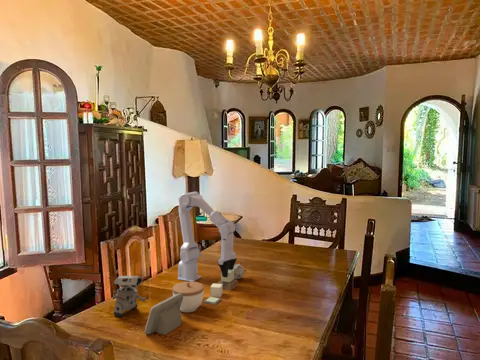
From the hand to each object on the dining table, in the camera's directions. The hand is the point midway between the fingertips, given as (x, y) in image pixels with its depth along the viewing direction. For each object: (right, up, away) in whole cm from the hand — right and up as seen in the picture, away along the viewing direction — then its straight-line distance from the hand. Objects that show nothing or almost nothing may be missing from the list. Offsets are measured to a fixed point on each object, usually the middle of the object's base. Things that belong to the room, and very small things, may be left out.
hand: (227, 275), depth 166 cm
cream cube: (-4, -6, -10) cm, 12 cm away
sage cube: (0, -3, 0) cm, 3 cm away
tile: (-6, -7, -16) cm, 18 cm away
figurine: (-38, -8, -27) cm, 47 cm away
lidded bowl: (-15, -8, -23) cm, 29 cm away
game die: (+5, -5, +10) cm, 12 cm away
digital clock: (-21, -9, -39) cm, 45 cm away
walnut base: (0, -6, 0) cm, 6 cm away
